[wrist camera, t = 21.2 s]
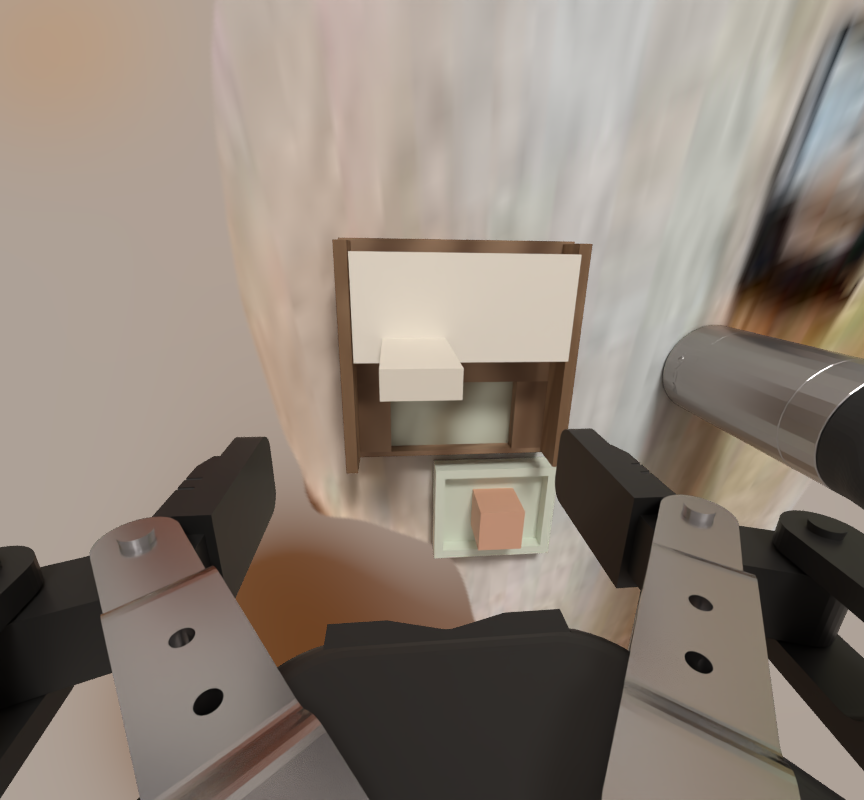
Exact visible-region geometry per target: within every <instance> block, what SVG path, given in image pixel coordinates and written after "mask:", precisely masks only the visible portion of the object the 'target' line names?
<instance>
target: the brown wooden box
mask: <svg viewBox="0 0 864 800" xmlns="http://www.w3.org/2000/svg"><path fill="white" fill-rule="evenodd" d="M332 241H333V258H334V274H335V291H336V307H337V324H338V340H339V357H340V373H341V390H342V406H343V423H344V439H345V456H346V472H347V473H358V469H359V462H360V457H380V456H416V455H451V454H487V453H522V452H542V453H543V455H544V456H545V458H546V459H547V460H548V462H549V463H550V464H551V466H552V467H556V466H557V458H558V450H559V442H560V436H561V433H562V431H563V430H565V429H568V424H569V416H570V409H571V401H572V394H573V386H574V379H575V371H576V364H577V356H578V349H579V341H580V334H581V326H582V319H583V312H584V304H585V297H586V289H587V282H588V274H589V267H590V259H591V252H592V244H575V242H557V241H499V240H441V239H383V238H338V240H332ZM348 251H373V252H442V253H510V254H578V255H582V256H581V264H580V272H579V280H578V288H577V296H576V304H575V312H574V320H573V328H572V336H571V344H570V351H569V359H568V362H460V363H461V365H462V366H463V368H464V374H463V399H462V400H444V401H384V402H380V388H379V364H380V363H354V361H353V340H352V320H351V300H350V279H349V259H348Z"/></svg>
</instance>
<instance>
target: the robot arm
mask: <svg viewBox="0 0 864 800" xmlns="http://www.w3.org/2000/svg"><path fill="white" fill-rule="evenodd" d="M663 383H664V388H665V391H666V393H667V395H668V396H669V398H670V399H671V400H672V401H673V402H674V403H675V404H677V405H678V406H680V407H682V408H684V409H686V410H688V411H689V412H691V413H693V414H695V415H697V416H698V417H700V418H702V419H704V420H705V421H707V422H709V423H711V424H713V425H714V426H716V427H718V428H720V429H722V430H724V431H725V432H727V433H729V434H731V435H733V436H734V437H736V438H738V439H740V440H742V441H743V442H745V443H747V444H749V445H751V446H753V447H754V448H756V449H758V450H760V451H762V452H763V453H765V454H767V455H769V456H771V457H772V458H774V459H776V460H778V461H780V462H782V463H783V464H785V465H787V466H789V467H791V468H792V469H794V470H796V471H798V472H800V473H802V474H804V475H806V476H807V477H809V478H811V479H813V480H815V481H816V482H818V483H820V484H822V485H824V486H826V487H827V488H829V489H831V490H833V491H835V492H836V493H838V494H840V495H842V496H844V497H846V498H848V499H849V500H851V501H853V502H854V503H855V504H857V505H858V506H860V507H861V508H862V509H864V359H862V358H858V357H854V356H849V355H845V354H841V353H837V352H832V351H828V350H824V349H820V348H816V347H811V346H807V345H803V344H799V343H794V342H790V341H786V340H782V339H777V338H773V337H769V336H765V335H760V334H756V333H753V332H748V331H744V330H740V329H735V328H731V327H727V326H722V325H709V326H704V327H701V328H699V329H696V330H694V331H692V332H691V333H689V334H688V335H686V336H685V337H683V338H682V339H681V340H680V341H679V342H678V343H677V344H676V346H675V347H674V348H673V349H672V351H671V352H670V354H669V356H668V358H667V360H666V363H665V367H664V371H663ZM555 491H556V495H557V498H558V501H559V502H560V504H561V505H562V507H563V508H564V510H565V511H566V513H567V514H568V516H569V517H570V519H571V520H572V522H573V523H574V525H575V527H576V528H577V530H578V531H579V533H580V534H581V536H582V537H583V539H584V540H585V542H586V543H587V545H588V546H589V548H590V549H591V551H592V552H593V554H594V555H595V557H596V558H597V560H598V561H599V563H600V564H601V566H602V567H603V569H604V570H605V572H606V573H607V575H608V576H609V578H610V579H611V581H612V582H613V584H614V585H615V587H616V588H627V587H639V589H640V590H641V592H640V596H639V601H638V605H637V610H636V615H635V619H634V624H633V629H632V634H631V638H630V643H629V648H628V650H626V649H625V648H623V647H621V646H619V645H617V644H615V643H613V642H611V641H609V640H606V639H604V638H602V637H599V636H596V635H593V634H591V633H587V632H583V631H579V630H576V629H570V628H568V626H567V624H566V621H565V619H564V617H563V615H562V613H561V611H560V609H553V610H538V611H523V612H508V613H502V614H499V615H496V616H492V617H489V618H486V619H483V620H480V621H476V622H473V623H470V624H467V625H464V626H460V627H457V628H453V629H438V628H432V627H425V626H419V625H412V624H406V623H399V622H393V621H373V622H358V623H342V624H328V625H327V631H326V637H325V642H324V645H323V646H320V647H317V648H314V649H311V650H309V651H307V652H304V653H302V654H300V655H298V656H296V657H294V658H292V659H290V660H288V661H287V662H285V663H283V664H282V665H280V666H279V667H276V665H275V663H274V662H273V660H272V658H271V657H270V655H269V654H268V652H267V650H266V649H265V647H264V645H263V644H262V642H261V641H260V639H259V637H258V636H257V634H256V632H255V631H254V629H253V628H252V626H251V624H250V622H249V621H248V619H247V617H246V616H245V614H244V613H243V611H242V609H241V608H240V606H239V604H238V603H237V601H236V600H235V598H236V595H237V593H238V591H239V589H240V586H241V584H242V582H243V580H244V577H245V575H246V573H247V571H248V568H249V566H250V564H251V561H252V559H253V557H254V555H255V553H256V550H257V548H258V546H259V544H260V541H261V539H262V537H263V534H264V532H265V530H266V528H267V526H268V523H269V521H270V519H271V516H272V514H273V511H274V508H275V500H276V490H275V482H274V474H273V466H272V458H271V451H270V444H269V441H268V439H267V437H236V438H235V439H234V440H233V441H232V442H231V444H230V445H229V446H228V447H227V448H226V450H225V451H224V452H223V453H222V454H221V456H214V457H212V458H210V459H208V460H207V461H205V462H203V463H202V464H200V465H198V466H197V467H196V468H195V469H194V470H193V471H192V472H191V473H190V475H189V476H188V477H187V478H186V480H184V481H183V482H182V484H181V485H180V486H179V487H178V490H176V491H174V493H173V494H172V495H171V496H170V497H169V498H168V499H167V500H166V502H165V503H164V504H163V505H162V506H161V507H160V509H159V510H158V511H157V512H156V513H155V514H154V515H153V516H152V517H150V518H143V519H139V520H136V521H132V522H129V523H127V524H124V525H121V526H119V527H117V528H115V529H113V530H111V531H110V532H108V533H106V534H105V535H103V536H102V537H101V538H100V539H99V540H98V541H97V542H96V543H95V544H94V545H93V547H92V548H91V550H90V556H87V557H83V558H79V559H75V560H70V561H65V562H61V563H57V564H53V565H48V566H44V567H40V566H39V564H38V561H37V558H36V556H35V553H34V551H33V550H32V549H30V548H29V547H25V546H7V547H0V798H1V796H2V795H3V794H4V792H5V790H6V789H7V787H8V786H9V784H10V783H11V781H12V780H13V778H14V777H15V775H16V774H17V772H18V771H19V769H20V768H21V766H22V765H23V763H24V761H25V760H26V759H27V757H28V756H29V754H30V752H31V751H32V749H33V748H34V746H35V745H36V743H37V742H38V740H39V739H40V737H41V736H42V734H43V733H44V731H45V729H46V728H47V727H48V725H49V724H50V722H51V721H52V719H53V717H54V716H55V714H56V713H57V711H58V710H59V708H60V707H61V705H62V704H63V702H64V701H65V699H66V698H67V696H68V695H69V693H70V692H71V690H72V688H73V687H74V685H76V684H79V683H82V682H85V681H88V680H91V679H95V678H97V677H101V676H104V675H107V674H110V673H113V678H114V682H115V687H116V691H117V696H118V700H119V705H120V710H121V714H122V719H123V723H124V728H125V732H126V737H127V741H128V745H129V750H130V755H131V760H132V764H133V768H134V773H135V778H136V783H137V787H138V792H139V796H140V797H139V798H138V799H137V800H845V799H844V798H842V797H841V796H839V795H838V794H837V793H835V792H834V791H832V790H831V789H829V788H828V787H826V786H825V785H823V784H822V783H821V782H819V781H818V780H816V779H815V778H813V777H812V776H811V775H809V774H807V773H806V772H805V771H803V770H802V769H800V768H799V767H797V766H796V765H795V764H793V763H792V762H790V761H789V760H787V759H786V758H784V757H783V756H782V753H781V749H780V744H779V736H778V728H777V721H776V714H775V707H774V700H773V692H772V684H771V677H770V670H769V663H768V659H769V660H770V661H771V662H772V664H773V665H774V666H775V667H776V668H777V669H778V671H779V672H780V673H781V674H782V675H783V676H784V678H785V679H786V680H787V681H788V682H789V684H790V685H791V686H792V687H793V688H794V689H795V691H796V692H797V693H798V694H799V695H800V697H801V698H802V699H803V700H804V701H805V702H806V703H807V705H808V706H809V707H810V708H811V709H812V711H814V713H815V714H816V715H817V716H818V718H819V719H820V720H821V721H822V722H823V724H824V725H825V726H826V727H827V728H828V729H829V730H830V732H831V733H832V734H833V735H834V736H835V738H836V739H837V740H838V741H839V742H840V743H841V745H842V746H843V747H844V748H845V749H846V751H847V752H848V753H849V754H850V755H851V756H852V757H853V759H854V760H855V761H856V762H857V763H858V765H859V766H860V767H861V768H862V769H863V770H864V658H863V657H862V656H861V655H860V654H858V653H857V652H856V651H855V650H854V649H853V648H852V647H851V646H850V645H849V644H848V643H847V642H845V641H844V640H843V639H842V638H841V637H840V636H839V635H838V634H837V633H838V631H839V629H840V626H841V624H842V622H843V620H844V617H845V615H846V613H847V610H848V609H849V610H850V611H851V612H852V613H854V614H855V615H856V616H857V617H858V618H859V619H861V620H862V621H863V622H864V534H863V533H862V532H860V531H858V530H857V529H855V528H853V527H851V526H850V525H848V524H846V523H843V522H841V521H839V520H836V519H833V518H831V517H827V516H824V515H821V514H817V513H813V512H807V511H796V510H795V511H786V512H784V513H782V514H781V515H780V518H779V521H778V524H777V527H776V529H775V531H771V530H765V529H758V528H751V527H744V526H739V524H738V521H737V519H736V517H735V516H734V515H733V514H732V513H730V512H729V511H728V510H726V509H725V508H723V507H722V506H720V505H718V504H716V503H713V502H711V501H708V500H706V499H702V498H699V497H695V496H689V495H676V494H675V493H674V492H673V491H672V490H670V489H669V488H668V487H667V486H666V485H665V484H663V483H662V482H661V481H660V480H659V479H658V478H657V477H655V476H654V475H653V474H652V473H649V471H648V470H647V469H646V468H645V467H644V466H643V465H640V463H639V462H638V461H637V460H636V459H635V458H633V457H632V456H631V455H630V454H629V453H627V452H625V451H623V450H621V449H619V448H617V447H615V446H613V445H610V444H609V443H608V442H607V441H605V440H604V439H603V438H602V437H601V436H600V435H599V434H598V433H597V432H595V431H594V430H593V429H565V430H563V431H562V433H561V436H560V442H559V450H558V458H557V466H556V474H555Z"/></svg>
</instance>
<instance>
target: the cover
mask: <svg viewBox="0 0 864 800" xmlns="http://www.w3.org/2000/svg"><path fill="white" fill-rule="evenodd" d="M581 256H582V255H578V254H510V253H442V252H373V251H348V259H349V279H350V300H351V320H352V340H353V361H354V363H380V364H379V388H380V402H384V401H444V400H462V399H463V374H464V368H463V366H462V365H461V363H460V362H568V359H569V351H570V344H571V336H572V328H573V320H574V312H575V304H576V296H577V288H578V280H579V272H580V264H581Z"/></svg>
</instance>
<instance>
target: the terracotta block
mask: <svg viewBox="0 0 864 800" xmlns="http://www.w3.org/2000/svg"><path fill="white" fill-rule="evenodd" d="M524 517H525V510H524V508H523V506H522V504H521V502H520V500H519V498H518V497H517V495H516V493H515V491H514V489H513V488H490V489H473V494H472V510H471V527H472V530H473V534H474V537H475V541H476V544H477V548H478V550H499V549H521V544H522V535H523V526H524Z"/></svg>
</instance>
